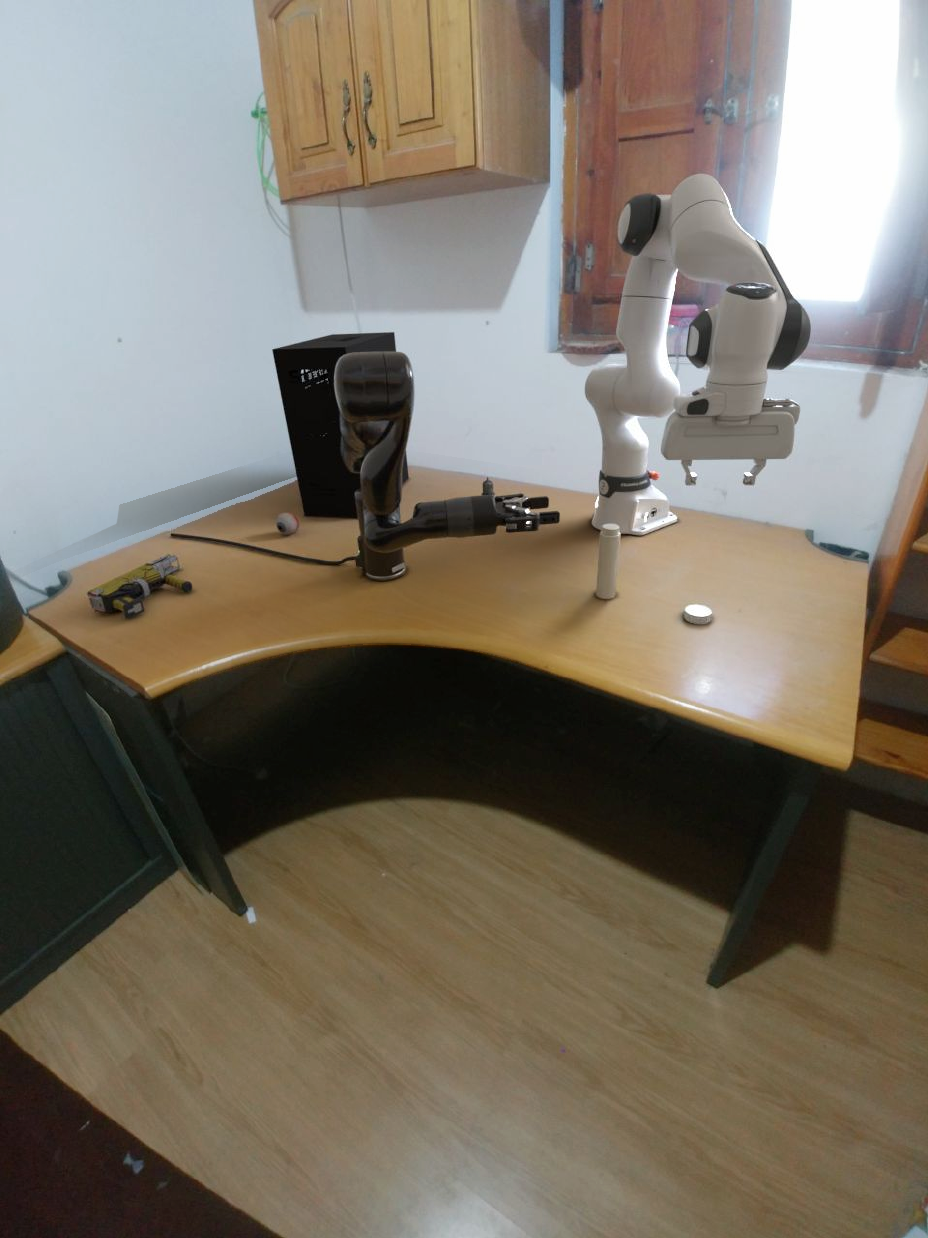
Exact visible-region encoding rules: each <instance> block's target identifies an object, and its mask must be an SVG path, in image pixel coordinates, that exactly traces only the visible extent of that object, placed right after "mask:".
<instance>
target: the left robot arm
mask: <svg viewBox="0 0 928 1238" xmlns="http://www.w3.org/2000/svg"><path fill="white" fill-rule="evenodd" d="M334 389H335V395H336V400H337V404H338V407H339V411H340V430H341V444H340V447H341V455H342V459H343V462H344V464H345V466H346V468H347V469H348V470H349V471H350V472H352V473H360V482H361V487H359V488H358V489H357V490H356V491H355V502H356V509H357V516H358V518H357V521H358V528H359V536H357V538H356V540H357V546H358V554H357V555H355V556H347V557H345V558H342V559H341V560H325V559H319V558H313V557H312V558H311V557H306V556H300V555H296V554H292V553H291V554H290V553H286V552H282V551H277V550H273V549H269V548H264V547H260V546H256V545H255V546H254V545H251V544H246V543H241V542H236V541H231V540H225V539H219V538H212V537H206V536H200V535H192V534H191V535H190V534H183V533H174V532H173V533H170V537H174V538H182V539H183V538H184V539H192V540H198V541H199V540H201V541H207V542H213V543H214V542H215V543H219V544H224V545H225V544H226V545H230V546H234V547H235V546H236V547H241V548H245V549H250V550H254V551H258V552H263V553H267V554H272V555H275V556H279V557H285V558H290V559H294V560H299V561H304V562H308V563H314V564H315V563H316V564H322V565H329V566H330V565H331V566H338V565H343V564H344V563H347V562H350V561H354V564H355V567H356V568H361V574H362V576H363V577H367V578H368V579H370V580H372V581H380V582H383V581H392V580H395V579H398V578H400V577H402V576H404V575H405V573H406V572H407V567H406V561H405V552H404V548H408V547H410V546H412V545H416V544H418V543H421V542H423V541H426V540H436V539H446V538H448V539H449V538H455V539H458V538H459V539H460V538H461V539H462V538H471V537H472V538H474V537H484V536H493V535H495V534H496V533H497V529H498V527H499V526H500V527H505V533H507V534H512V533H513V534H515V533H529V532H537V531H539V527H540V526H542V525H543V526H544V525H555V524H559V523H560V519H561V518H560V517H561V514H560V512H559V511H558V510H550V511H539V512H537V511H530V510H540V509H548V508H549V506H550V498H549V497H548V496H546V495H545V496H543V495H542V496H534V497H533V496H531V497H529V496H527V495H525V494H524V493H515V494H505V495H496V496H494V497H493V496H492V495H471V496H461V497H452V498H449V499H442V500H431V501H429V500H428V501H422V502H418V503H416V504H415V506H414V508H413V512H412V517H411V518H409V520H406V521H403V522H402V517H401V503H402V494H403V485H402V469H403V461H404V456H405V452H406V453H407V447H408V442H409V437H410V432H411V426H412V421H413V415H414V408H415V396H416V395H415V394H416V393H415V377H414V371H413V366H412V363H411V361H410V358H409V357H408V355H407V354H406V353H404V352H402V351H396V352H393V351H385V352H353V353H348V354H345V355H343V356H342V357H340V358H339V360H338V362H337V364H336V367H335V372H334Z"/></svg>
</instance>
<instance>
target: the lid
mask: <svg viewBox="0 0 928 1238" xmlns="http://www.w3.org/2000/svg"><path fill="white" fill-rule="evenodd" d="M712 611H713V610H712V609H711V608H710V607H708V606H706V605H702V604H689V605H686V606H685V608H684V611H683V618H684V620H685V621H687V622H688V623H692V624H695V625H705V624H708V623H709V622H711V621H712V614H713V613H712Z"/></svg>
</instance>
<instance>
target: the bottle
mask: <svg viewBox="0 0 928 1238" xmlns="http://www.w3.org/2000/svg"><path fill="white" fill-rule="evenodd" d="M619 529H620V527H619V526H618V525H616V524H605V525H603V526H602V530H600V532H599V542H598V554H597V555H598V557H597V559H598V560H597V569H596V570H597V571H596V587H595V595H596V597H597V598H599V599H601V600H611V599H613V598H615V597H616V596H617V595H616V593H617V582H618V570H619V559H620V545H621V533H620V532H619Z"/></svg>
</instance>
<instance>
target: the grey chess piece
mask: <svg viewBox="0 0 928 1238" xmlns="http://www.w3.org/2000/svg"><path fill="white" fill-rule="evenodd" d="M481 495H492V496H493V497H494V498H495V495H496V493H495V492H494V482H493V481H492V480H490V478H489V477H486V480H484V481H483V482H482V492H481ZM481 495H480V496H481Z"/></svg>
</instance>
